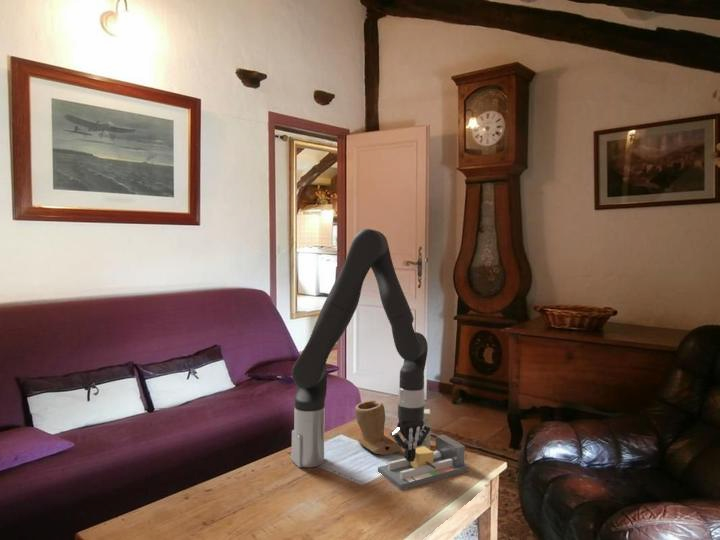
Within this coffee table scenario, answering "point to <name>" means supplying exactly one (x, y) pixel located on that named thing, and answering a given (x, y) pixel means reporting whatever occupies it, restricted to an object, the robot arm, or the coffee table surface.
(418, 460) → the gauge carriage
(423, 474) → the base
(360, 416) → the brown clay boot
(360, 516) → the coffee table surface
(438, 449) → the grey end plate
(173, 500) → the coffee table surface
